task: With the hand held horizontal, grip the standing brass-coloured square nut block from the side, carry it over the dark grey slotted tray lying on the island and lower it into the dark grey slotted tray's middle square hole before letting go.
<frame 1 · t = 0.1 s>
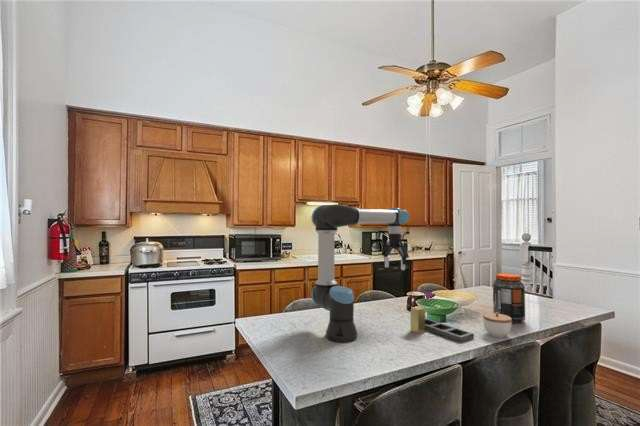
hand: (394, 268, 193), 28 cm above the kitchen island, tool pointing down, fingers open, 13 cm apart
supplement tub: (508, 320, 183), on the kitchen island
lidded bowl: (497, 335, 159), on the kitchen island
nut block: (417, 331, 163), on the kitchen island
dark grey slotted tray: (442, 332, 162), on the kitchen island
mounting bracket: (421, 308, 209), on the kitchen island
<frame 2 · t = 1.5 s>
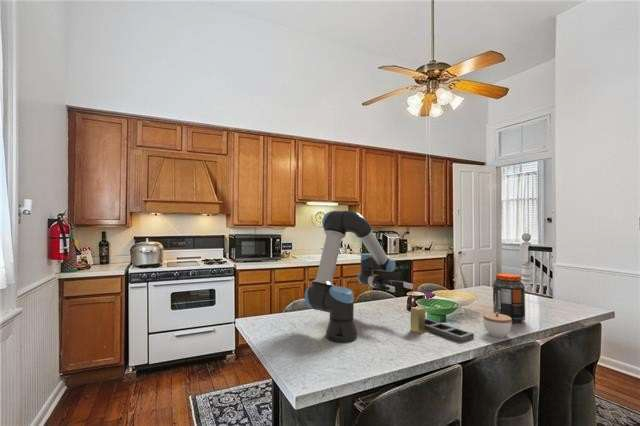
hand: (403, 288, 172), 20 cm above the kitchen island, tool horizontal, fingers open, 13 cm apart
nothing on the kitchen island moved.
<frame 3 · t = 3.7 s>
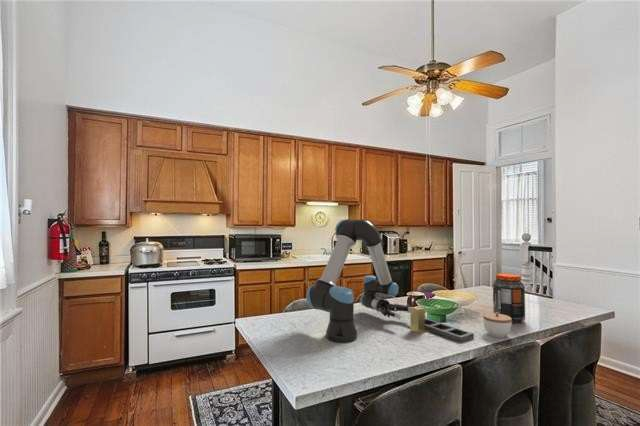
hand: (409, 314, 169), 7 cm above the kitchen island, tool horizontal, fingers open, 13 cm apart
nothing on the kitchen island moved.
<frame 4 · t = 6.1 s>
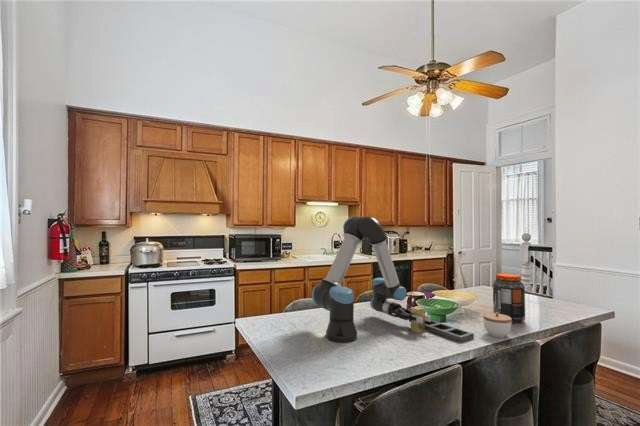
hand: (426, 319, 159), 7 cm above the kitchen island, tool horizontal, fingers closed on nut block, 5 cm apart
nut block: (417, 331, 163), on the kitchen island, touching gripper
everything else where it was.
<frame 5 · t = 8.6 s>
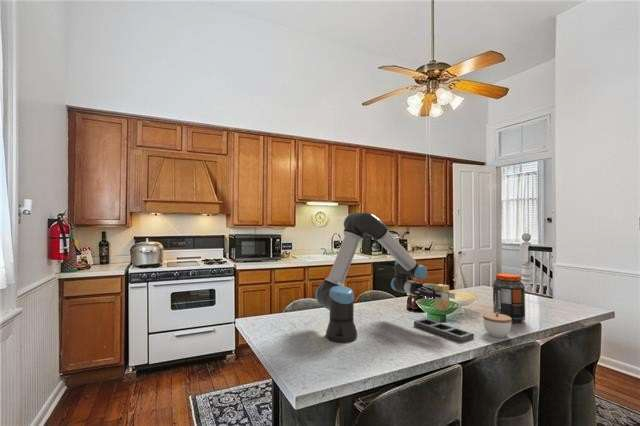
hand: (450, 296, 159), 19 cm above the kitchen island, tool horizontal, fingers closed on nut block, 5 cm apart
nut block: (441, 308, 163), point 12 cm above the kitchen island, touching gripper
everything else where it was.
when the fingers open (8 cm above the kitchen island, at t = 11.2 s): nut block drops 1 cm, resting in dark grey slotted tray.
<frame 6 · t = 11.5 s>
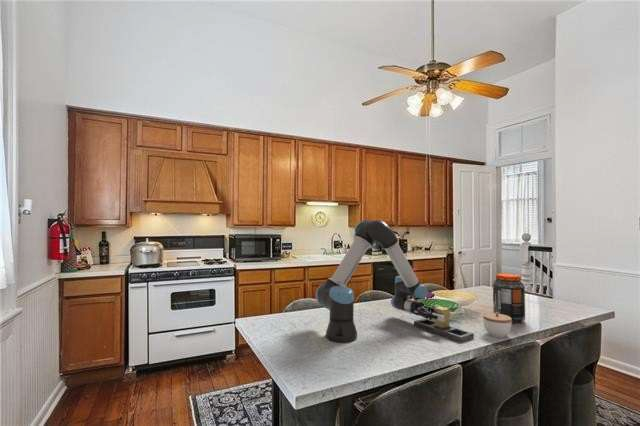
hand: (449, 317, 159), 8 cm above the kitchen island, tool horizontal, fingers open, 9 cm apart
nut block: (442, 332, 162), resting in dark grey slotted tray
everything else where it was.
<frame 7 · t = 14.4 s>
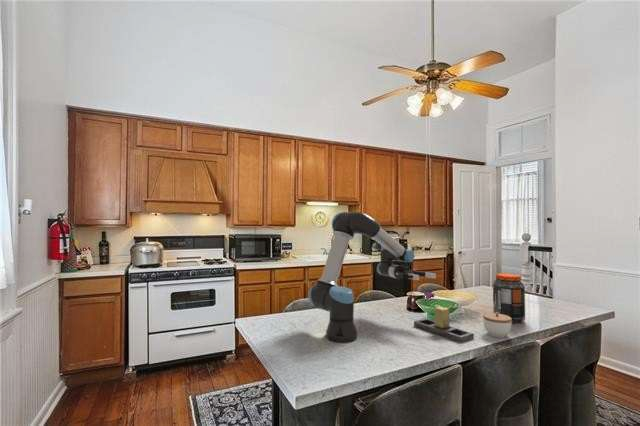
hand: (427, 277, 172), 26 cm above the kitchen island, tool horizontal, fingers open, 13 cm apart
nothing on the kitchen island moved.
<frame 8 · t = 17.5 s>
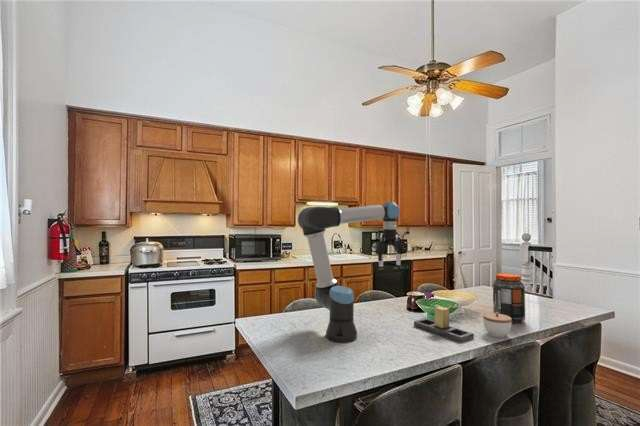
hand: (389, 265, 184), 31 cm above the kitchen island, tool pointing down, fingers open, 13 cm apart
nothing on the kitchen island moved.
at the end: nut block inside the target area on the dark grey slotted tray (0.0 cm from its centre), point 0.0 cm above the dark grey slotted tray's base; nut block tilted 0°; the gripper is holding nothing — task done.
